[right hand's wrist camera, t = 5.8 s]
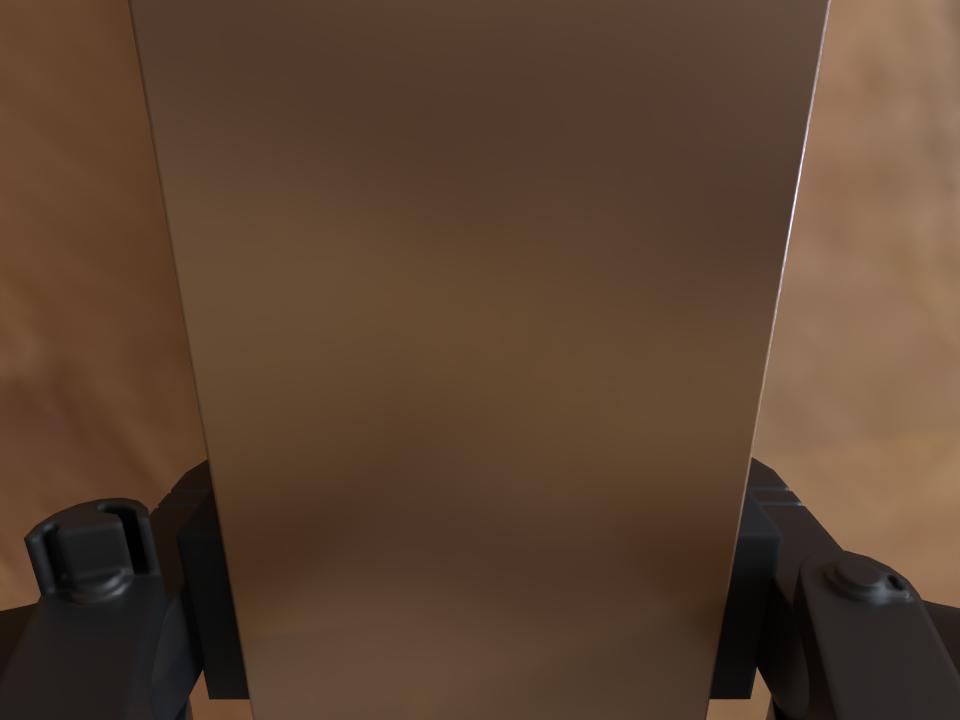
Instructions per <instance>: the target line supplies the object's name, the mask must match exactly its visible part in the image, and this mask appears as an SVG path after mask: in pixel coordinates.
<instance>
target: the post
mask: <svg viewBox="0 0 960 720" xmlns="http://www.w3.org/2000/svg"><path fill="white" fill-rule="evenodd" d="M128 3H129V9H130V15H131V21H132V26H133V32H134V38H135V44H136V49H137V55H138V61H139V66H140V72H141V78H142V84H143V89H144V95H145V101H146V107H147V112H148V118H149V124H150V130H151V135H152V141H153V147H154V153H155V158H156V164H157V170H158V175H159V181H160V187H161V193H162V198H163V204H164V210H165V216H166V221H167V227H168V233H169V239H170V244H171V250H172V256H173V261H174V267H175V273H176V279H177V284H178V290H179V296H180V302H181V307H182V313H183V319H184V325H185V330H186V336H187V342H188V348H189V353H190V359H191V365H192V370H193V376H194V382H195V388H196V393H197V399H198V405H199V411H200V416H201V422H202V428H203V434H204V439H205V445H206V451H207V456H208V462H209V468H210V474H211V479H212V485H213V491H214V497H215V502H216V508H217V514H218V520H219V525H220V531H221V537H222V543H223V548H224V554H225V560H226V565H227V571H228V577H229V583H230V588H231V594H232V600H233V606H234V611H235V617H236V623H237V629H238V634H239V640H240V646H241V651H242V657H243V663H244V669H245V674H246V680H247V686H248V692H249V697H250V703H251V709H252V715H253V720H706V717H707V711H708V705H709V699H710V694H711V688H712V682H713V676H714V671H715V665H716V659H717V653H718V648H719V642H720V636H721V630H722V625H723V619H724V613H725V607H726V602H727V596H728V590H729V584H730V579H731V573H732V567H733V561H734V556H735V550H736V544H737V538H738V533H739V527H740V521H741V515H742V510H743V504H744V498H745V492H746V487H747V481H748V475H749V469H750V464H751V458H752V452H753V446H754V441H755V435H756V429H757V423H758V418H759V412H760V406H761V400H762V395H763V389H764V383H765V377H766V372H767V366H768V360H769V354H770V349H771V343H772V337H773V331H774V326H775V320H776V314H777V308H778V303H779V297H780V291H781V286H782V280H783V274H784V268H785V263H786V257H787V251H788V245H789V240H790V234H791V228H792V222H793V217H794V211H795V205H796V199H797V194H798V188H799V182H800V176H801V171H802V165H803V159H804V153H805V148H806V142H807V136H808V130H809V125H810V119H811V113H812V107H813V102H814V96H815V90H816V84H817V79H818V73H819V67H820V61H821V56H822V50H823V44H824V38H825V33H826V27H827V21H828V15H829V10H830V4H831V0H128Z"/></svg>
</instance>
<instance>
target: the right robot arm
mask: <svg viewBox="0 0 960 720" xmlns="http://www.w3.org/2000/svg"><path fill="white" fill-rule="evenodd" d="M24 540H25V544H26V547H27V550H28V553H29V557H30V560H31V563H32V566H33V570H34V573H35V576H36V579H37V583H38V586H39V589H40V592H41V597H40V599H39V601H38V603H35V604H31V605H28V606H23V607H18V608H13V609H9V610H4V611H0V720H193V715H192V708H191V704H190V699H189V695H190V693H191V691H192V689H193V688H194V686H195V684H196V682H197V680H198V678H199V676H200V674H201V672H202V670H203V671H204V676H205V681H206V686H207V690H208V695H209V699H250V697H249V692H248V686H247V680H246V674H245V669H244V663H243V657H242V651H241V646H240V640H239V634H238V629H237V623H236V617H235V611H234V606H233V600H232V594H231V588H230V583H229V577H228V571H227V565H226V560H225V554H224V548H223V543H222V537H221V531H220V525H219V520H218V514H217V508H216V502H215V497H214V491H213V485H212V479H211V474H210V468H209V462H208V459H207V460H206V461H204V462H203V463H201V464H199V465H198V466H196V467H194V468H193V469H191V470H189V471H188V472H186V473H185V474H184V476H183V477H182V478H181V479H180V480H179V481H178V483H177V484H176V485H175V486H174V487H173V488H172V490H171V493H168V494H167V495H166V497H165V498H164V499H163V500H162V501H161V502H160V504H159V507H158V508H155V509H154V510H153V512H152V513H151V514H150V515H149V513H148V508H147V507H146V506H144V505H143V504H142V503H140V502H139V501H137V500H131V499H126V498H109V499H99V500H94V501H90V502H86V503H82V504H78V505H75V506H73V507H70V508H68V509H65V510H63V511H60V512H58V513H55V514H54V515H52V516H50V517H49V518H47V519H46V520H44V521H42V522H41V523H39V524H38V525H36V526H35V527H34V528H33V529H32V530H31V531H30V532H29V534H28V535H27V536H26V537H25V538H24ZM757 668H758V670H759V671H760V673H761V675H762V677H763V679H764V681H765V683H766V685H767V687H768V689H769V691H770V693H771V699H770V704H769V708H768V713H767V717H766V720H960V608H955V607H951V606H946V605H941V604H936V603H932V602H928V601H924V600H922V599H921V597H920V595H919V594H918V592H917V591H916V590H915V589H914V587H913V586H912V585H911V584H910V582H909V581H908V580H907V579H906V578H904V577H903V576H902V575H900V574H899V573H897V572H896V571H895V570H893V569H892V568H891V567H889V566H887V565H885V564H882V563H880V562H878V561H876V560H874V559H872V558H870V557H867V556H863V555H859V554H856V553H852V552H848V551H843V550H842V549H841V547H840V546H839V545H838V544H837V543H836V542H835V540H834V539H833V538H832V537H831V536H830V535H829V534H828V532H827V531H826V530H825V529H824V528H823V527H822V525H821V524H820V523H819V522H818V521H817V520H816V518H815V517H814V516H813V515H812V514H811V513H810V512H809V510H808V509H807V508H806V507H805V506H802V505H801V501H800V500H799V499H798V498H797V497H796V495H795V494H794V493H793V492H792V491H789V487H788V486H787V485H786V484H785V483H784V482H783V480H782V479H781V478H780V477H779V476H778V475H777V473H776V472H775V471H774V470H772V469H771V468H769V467H767V466H766V465H764V464H762V463H761V462H759V461H758V460H756V459H754V458H753V457H752V458H751V464H750V469H749V475H748V481H747V487H746V492H745V498H744V504H743V510H742V515H741V521H740V527H739V533H738V538H737V544H736V550H735V556H734V561H733V567H732V573H731V579H730V584H729V590H728V596H727V602H726V607H725V613H724V619H723V625H722V630H721V636H720V642H719V648H718V653H717V659H716V665H715V671H714V676H713V682H712V688H711V694H710V699H750V698H751V693H752V688H753V683H754V679H755V674H756V669H757Z"/></svg>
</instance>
